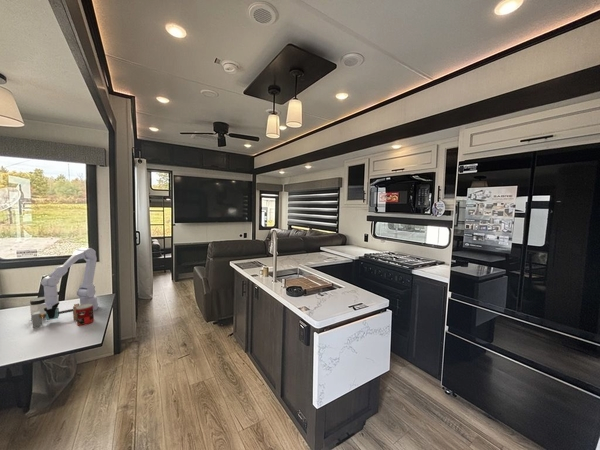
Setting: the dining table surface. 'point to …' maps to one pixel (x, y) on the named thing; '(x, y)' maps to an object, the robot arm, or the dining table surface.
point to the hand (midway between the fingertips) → (52, 316)
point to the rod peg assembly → (38, 316)
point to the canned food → (84, 314)
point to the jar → (37, 305)
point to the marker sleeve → (55, 314)
